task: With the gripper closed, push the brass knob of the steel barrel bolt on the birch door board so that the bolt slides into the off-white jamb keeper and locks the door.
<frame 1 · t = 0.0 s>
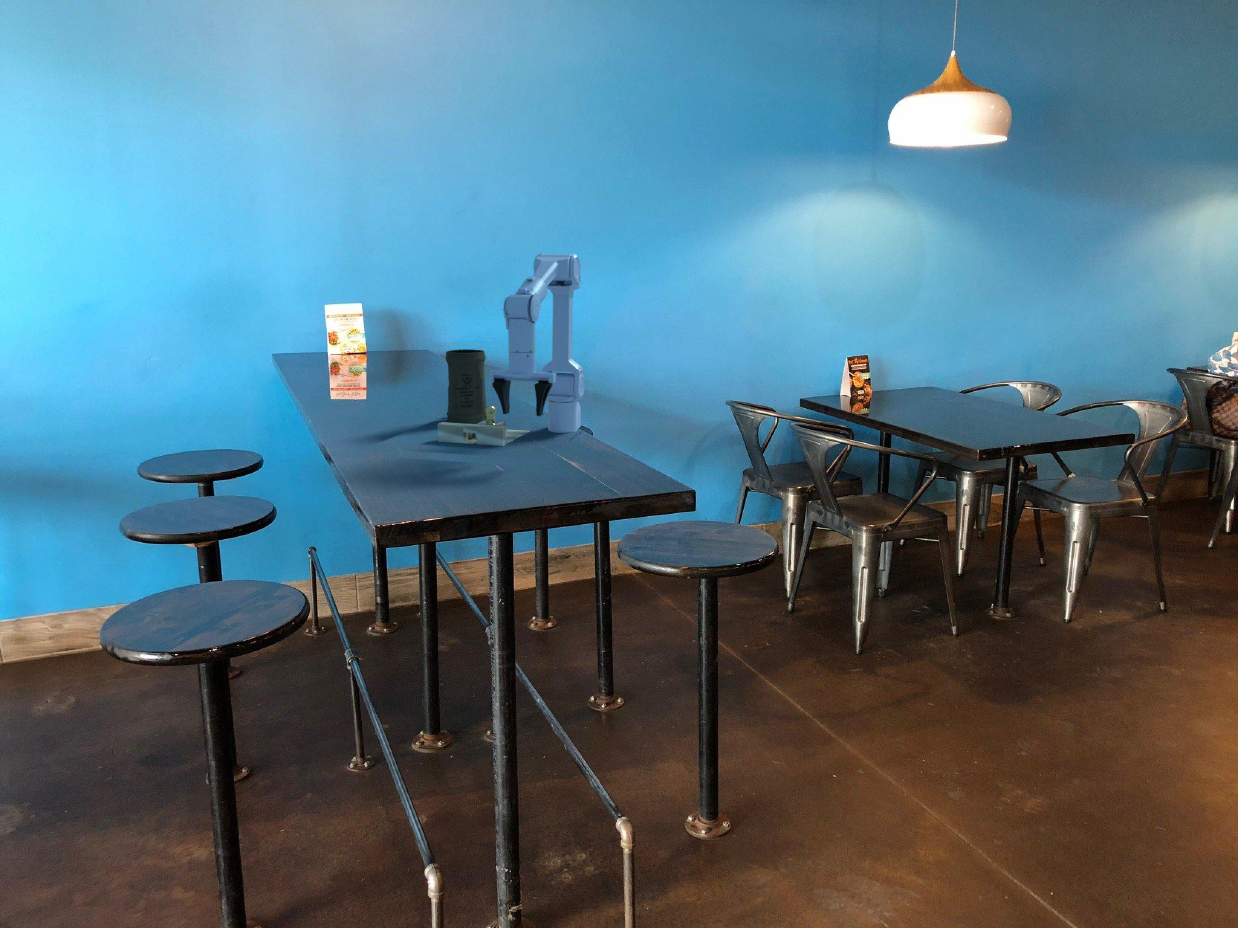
hand: (522, 414, 205), 10 cm above the table, fingers open, 7 cm apart
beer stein: (465, 426, 245), on the table
bolt: (486, 421, 224), point 5 cm above the table, slide at 0.0 cm
door board: (485, 442, 225), on the table
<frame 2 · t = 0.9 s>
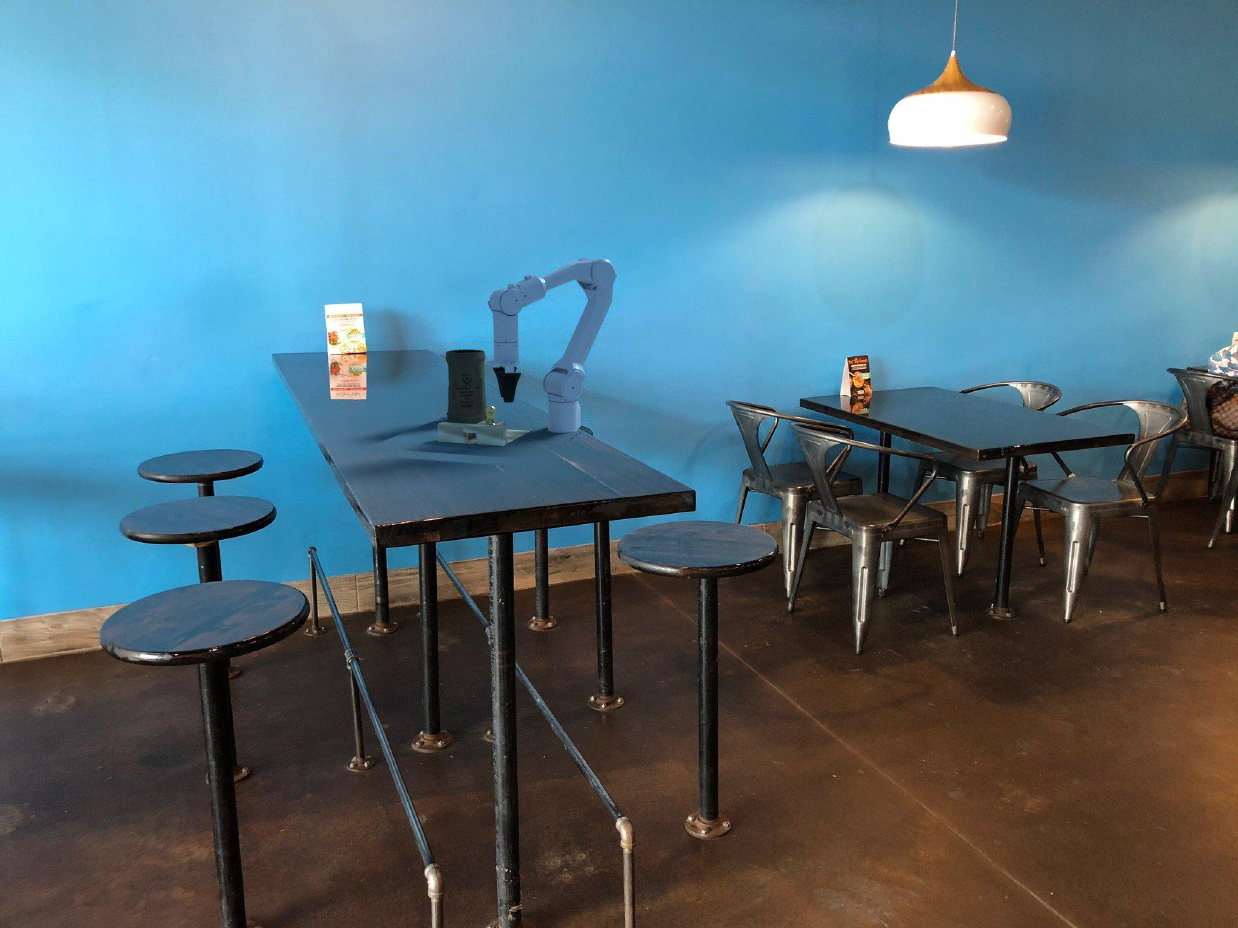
hand: (507, 399, 222), 10 cm above the table, fingers open, 7 cm apart
nothing on the table moved.
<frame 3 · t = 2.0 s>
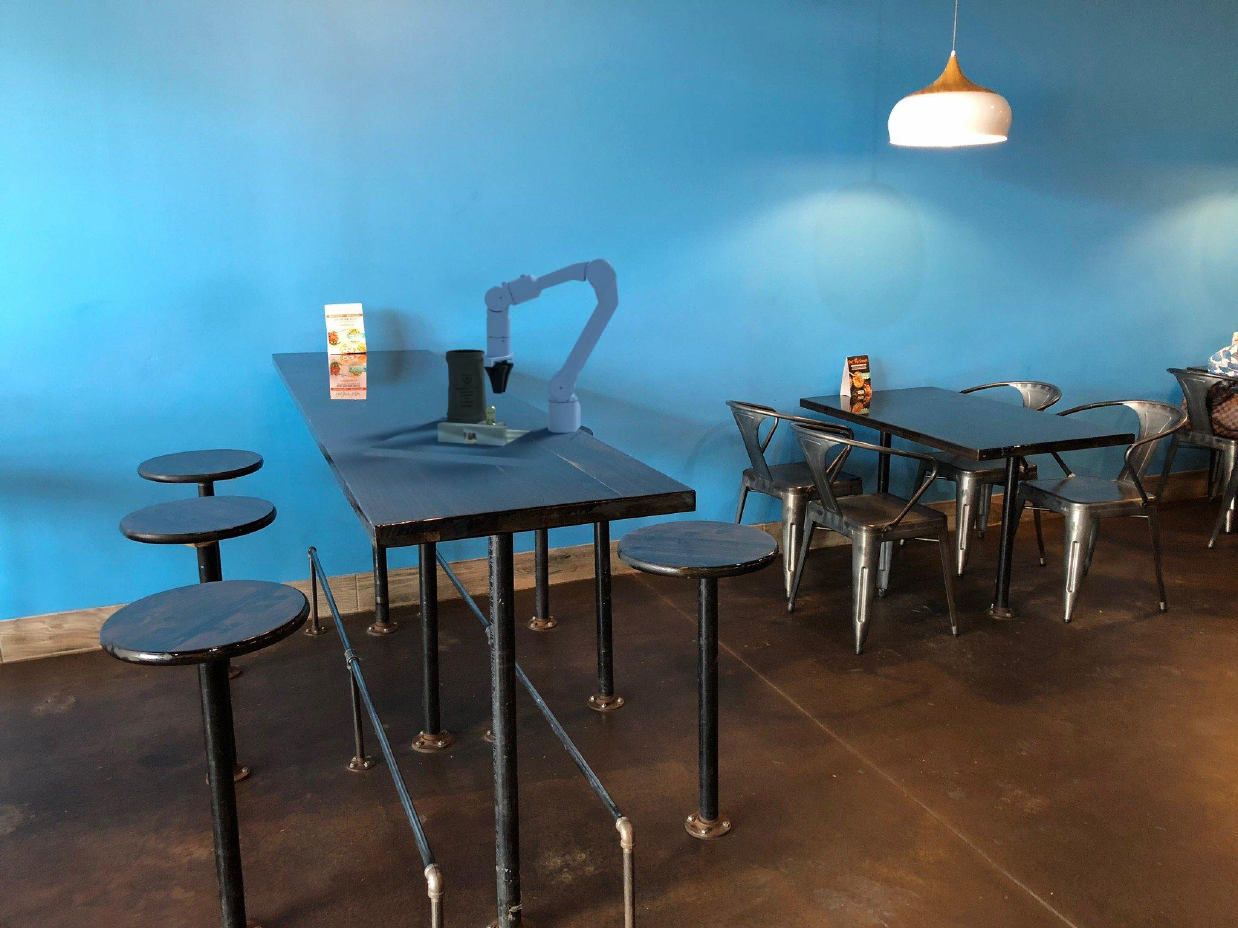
hand: (499, 392, 231), 10 cm above the table, fingers closed
nothing on the table moved.
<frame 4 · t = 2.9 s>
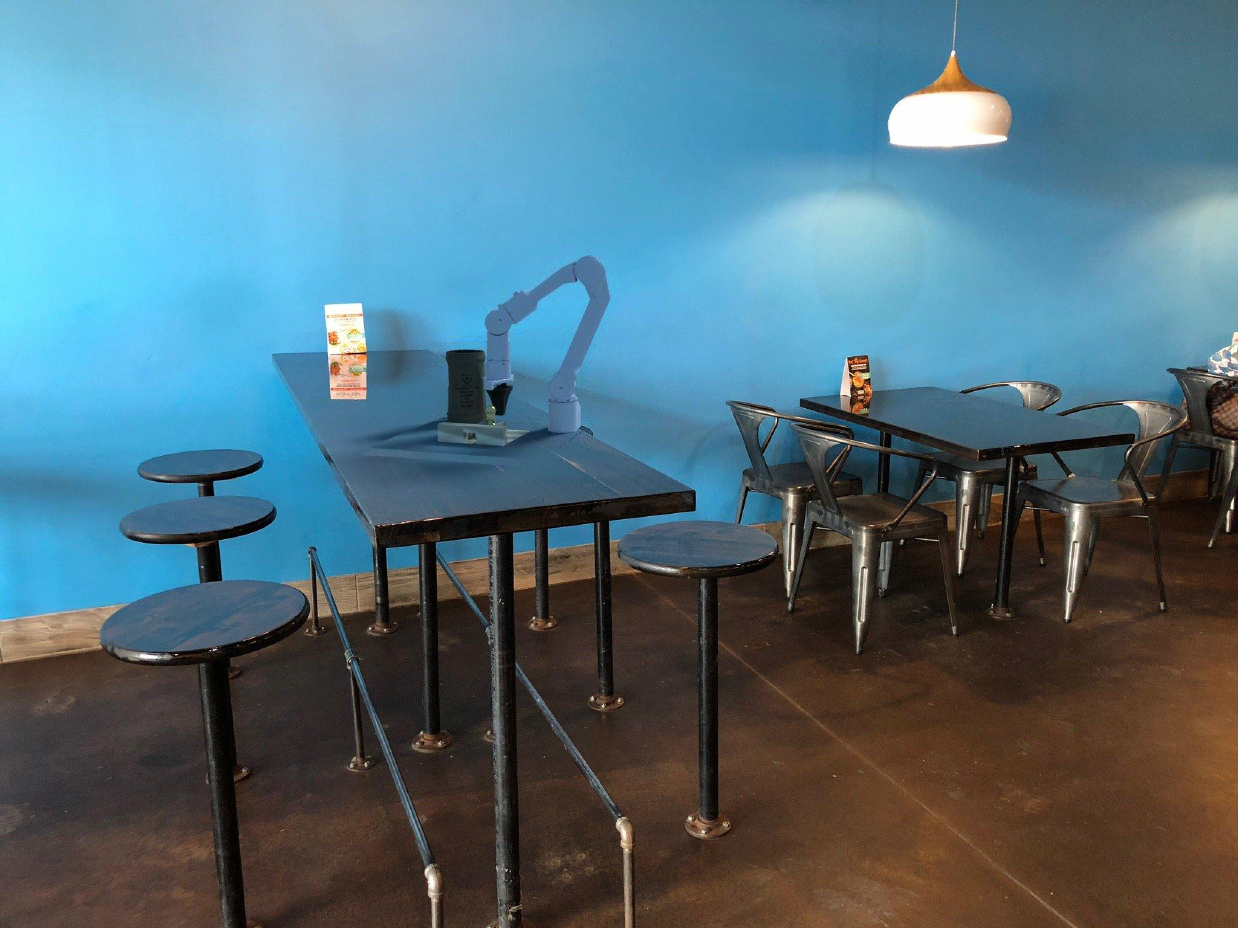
hand: (499, 415, 232), 5 cm above the table, fingers closed
nothing on the table moved.
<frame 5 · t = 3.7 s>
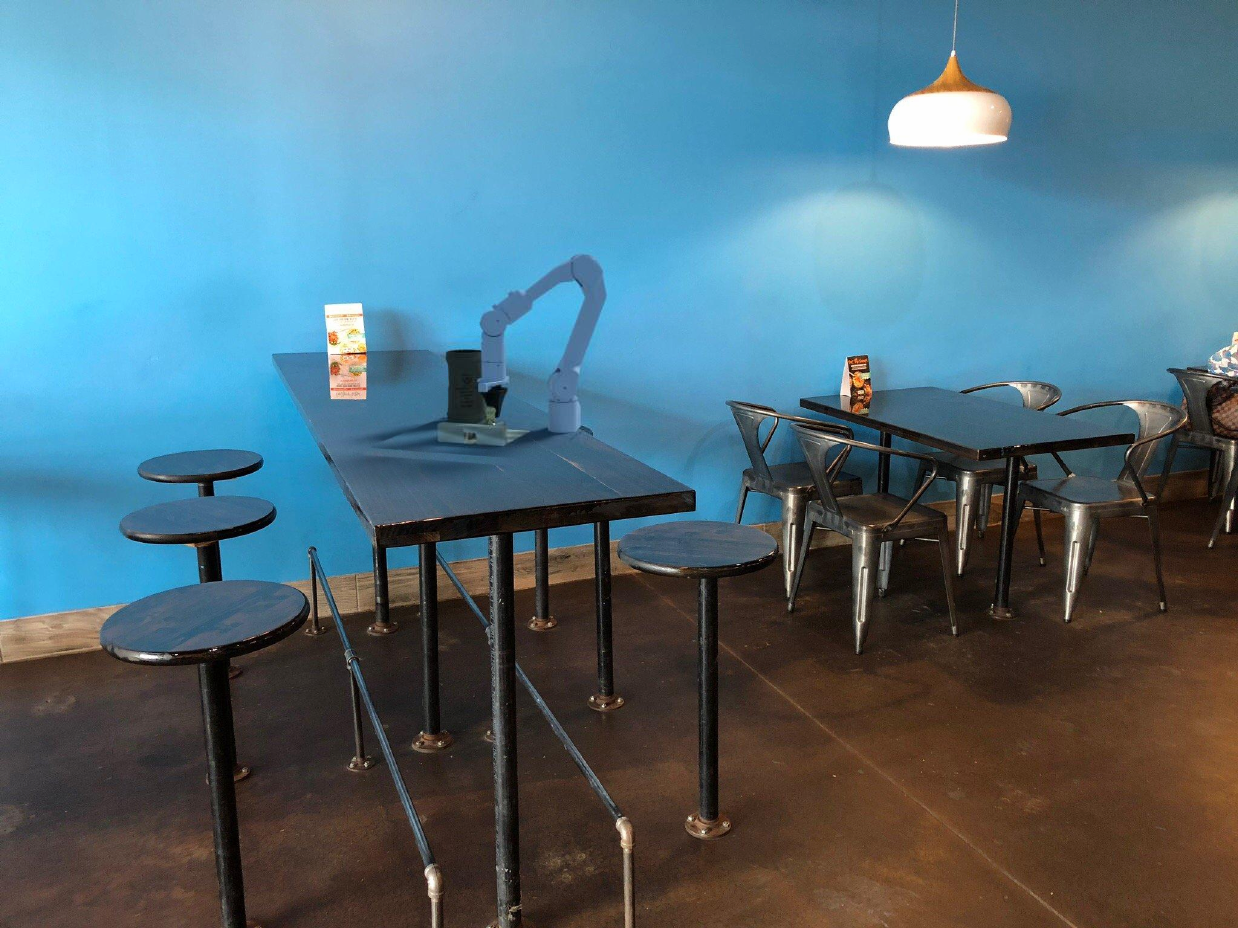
hand: (494, 417, 229), 5 cm above the table, fingers closed
bolt: (486, 421, 224), point 5 cm above the table, slide at 0.0 cm, touching gripper
everything else where it was.
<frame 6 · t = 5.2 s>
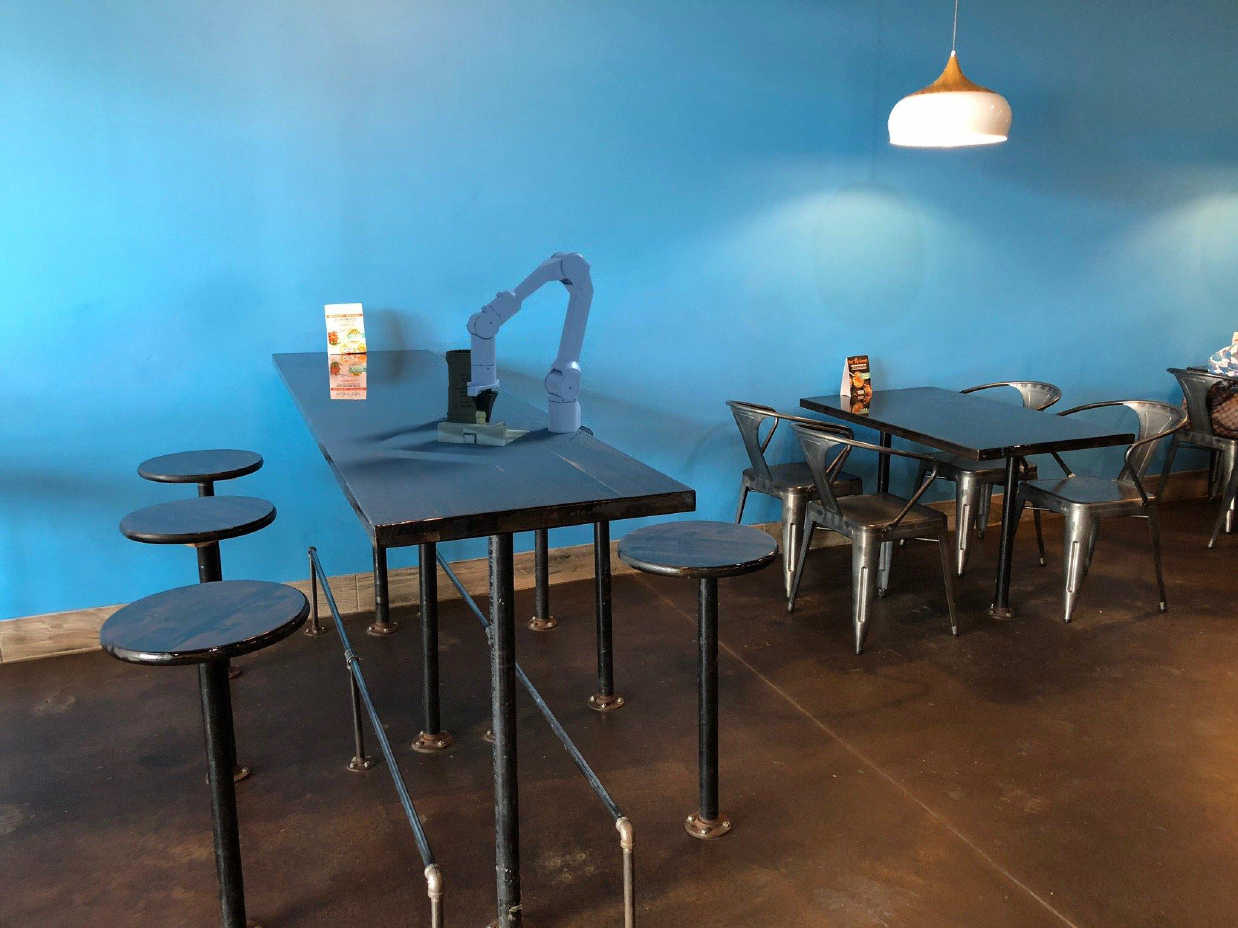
hand: (484, 422, 223), 5 cm above the table, fingers closed
bolt: (476, 425, 218), point 5 cm above the table, slide at 6.1 cm, touching gripper
everything else where it was.
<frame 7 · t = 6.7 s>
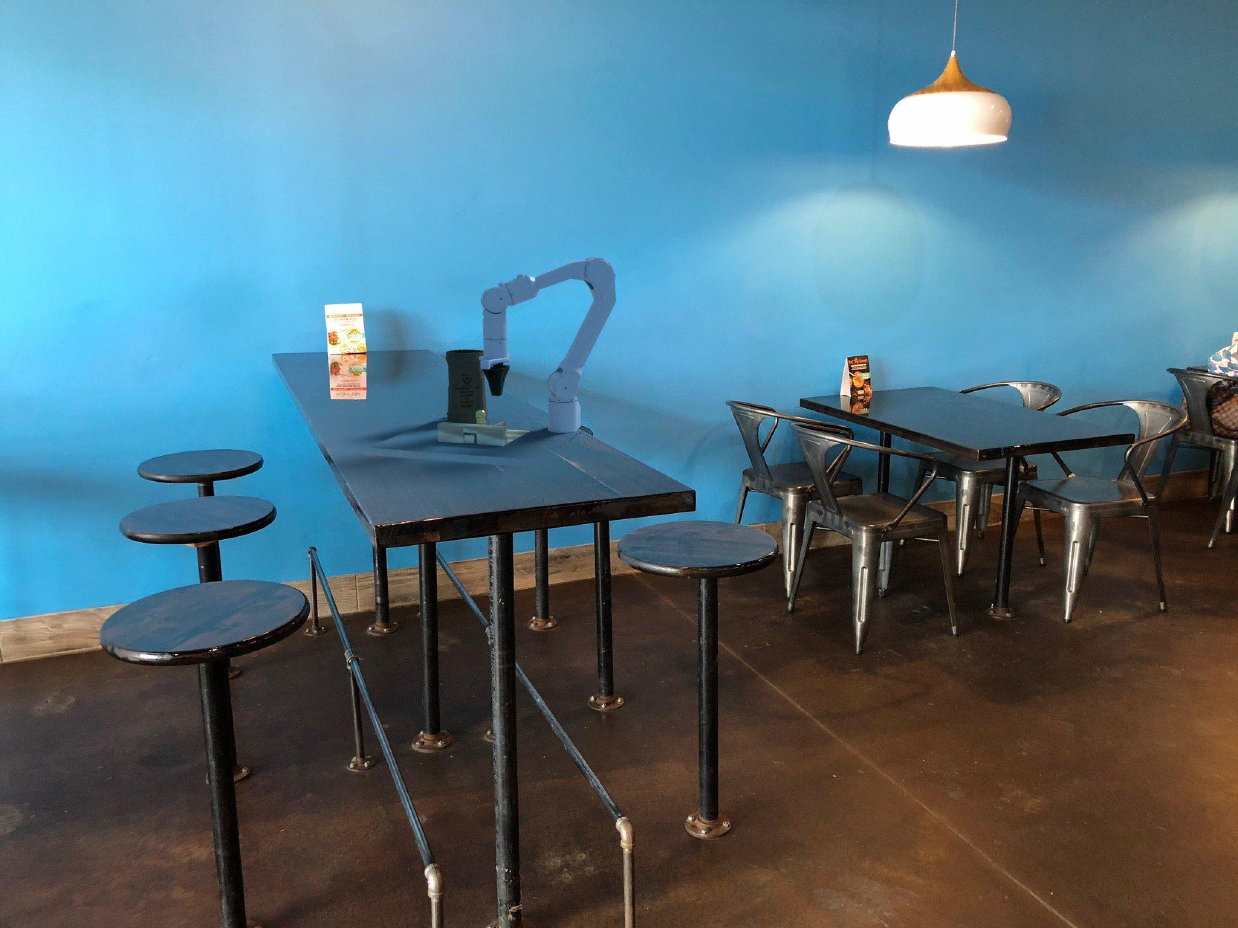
hand: (496, 395, 227), 10 cm above the table, fingers closed
bolt: (476, 425, 218), point 5 cm above the table, slide at 6.0 cm
everything else where it was.
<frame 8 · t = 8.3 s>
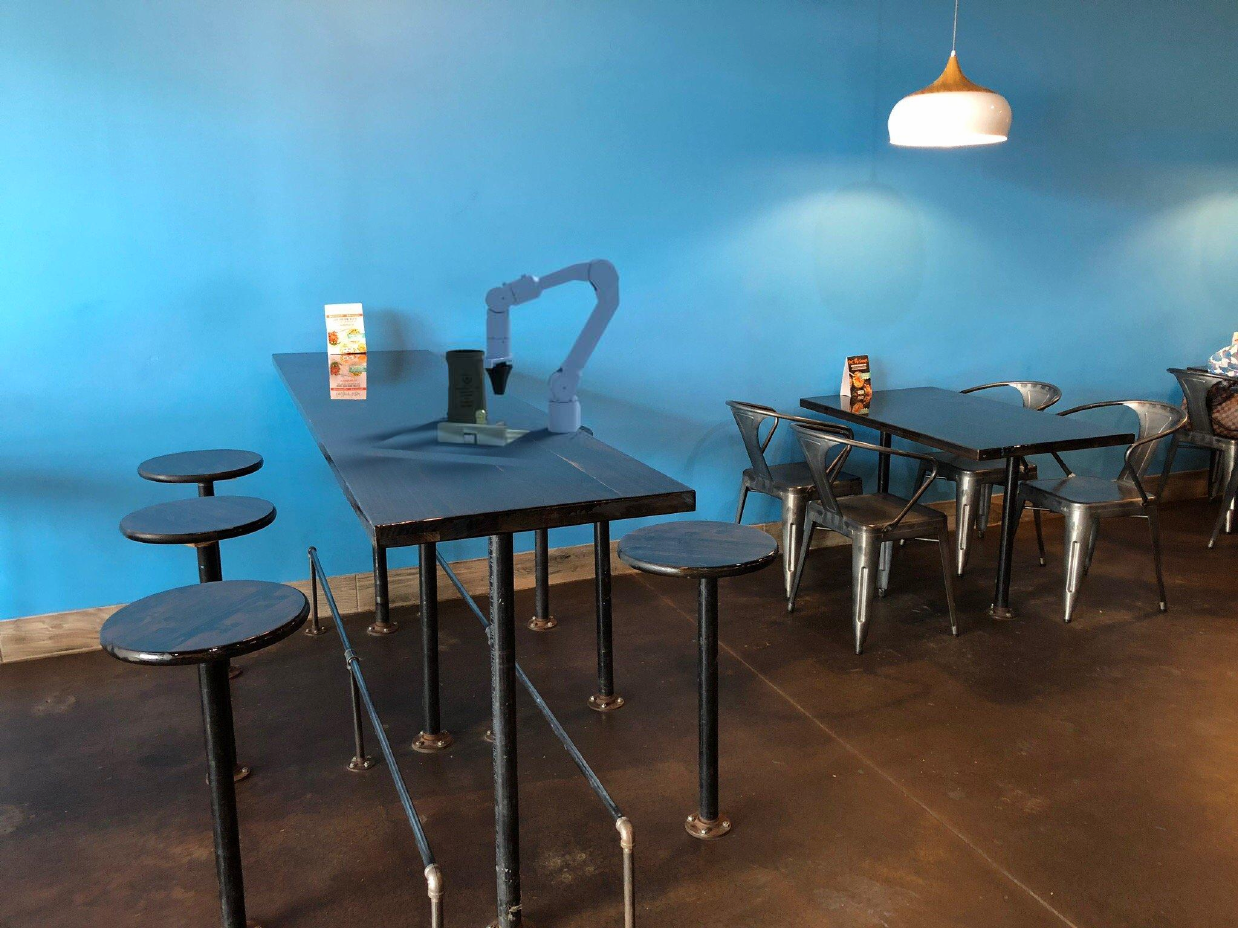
hand: (499, 394, 229), 10 cm above the table, fingers closed
nothing on the table moved.
at the end: bolt slide at 6.0 cm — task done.
